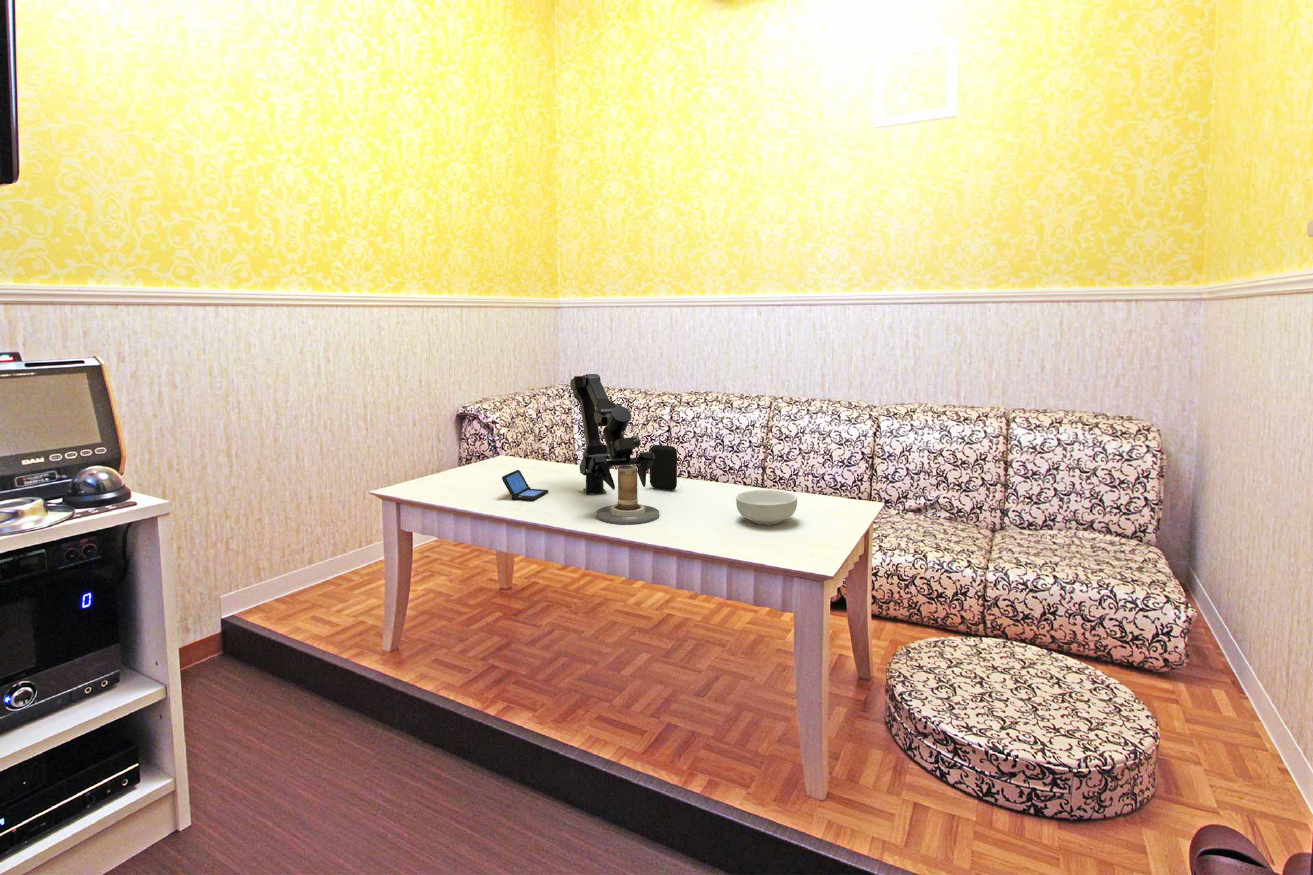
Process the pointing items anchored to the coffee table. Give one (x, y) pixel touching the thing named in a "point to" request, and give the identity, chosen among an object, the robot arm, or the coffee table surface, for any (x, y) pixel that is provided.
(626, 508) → the brown cylindrical container
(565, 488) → the coffee table surface
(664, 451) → the black rounded block
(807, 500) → the coffee table surface
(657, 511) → the round tray
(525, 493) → the handheld game console
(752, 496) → the cereal bowl
